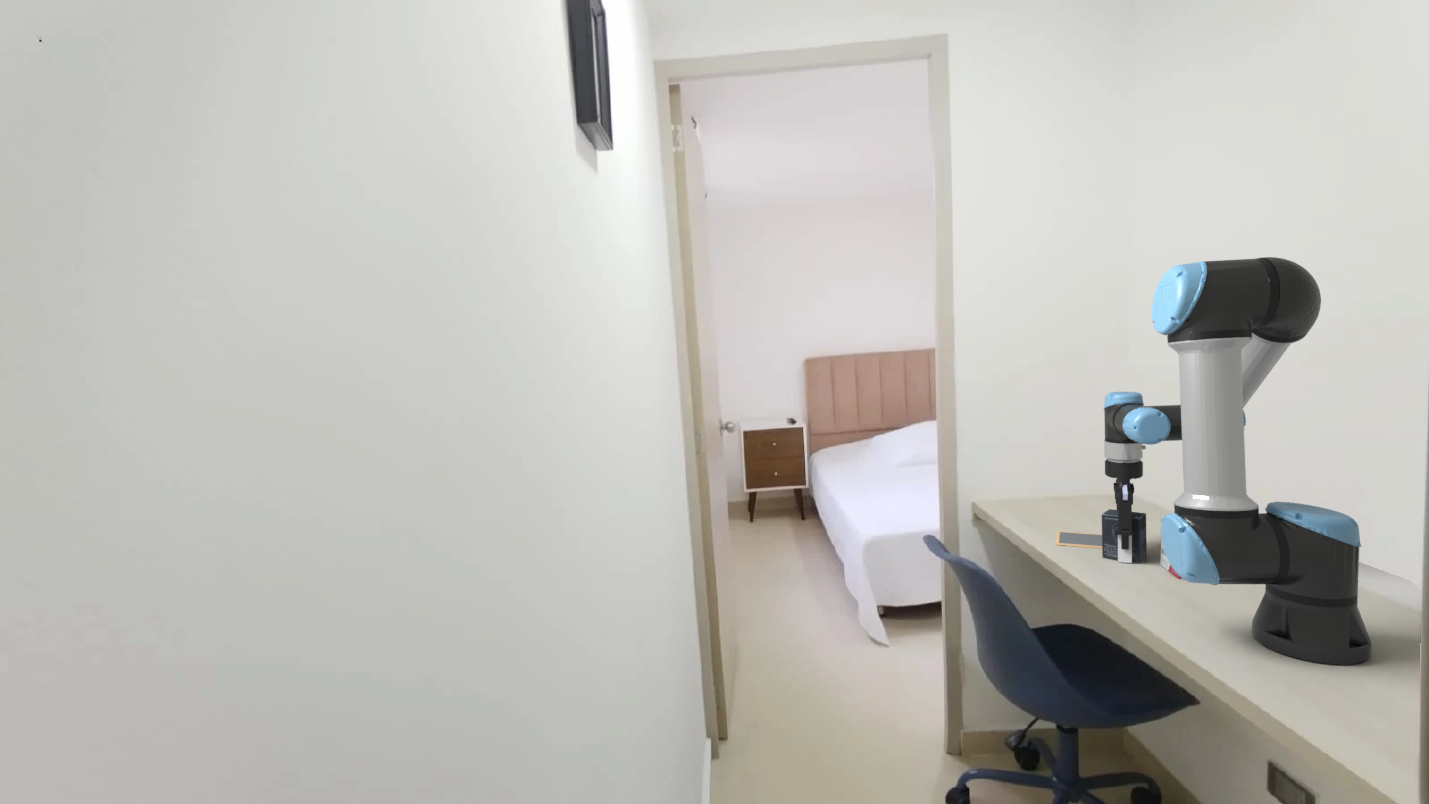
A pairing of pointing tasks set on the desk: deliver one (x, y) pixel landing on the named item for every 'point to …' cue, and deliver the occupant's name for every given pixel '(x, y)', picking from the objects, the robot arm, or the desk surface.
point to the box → (1111, 540)
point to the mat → (1079, 539)
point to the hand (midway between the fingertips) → (1124, 556)
